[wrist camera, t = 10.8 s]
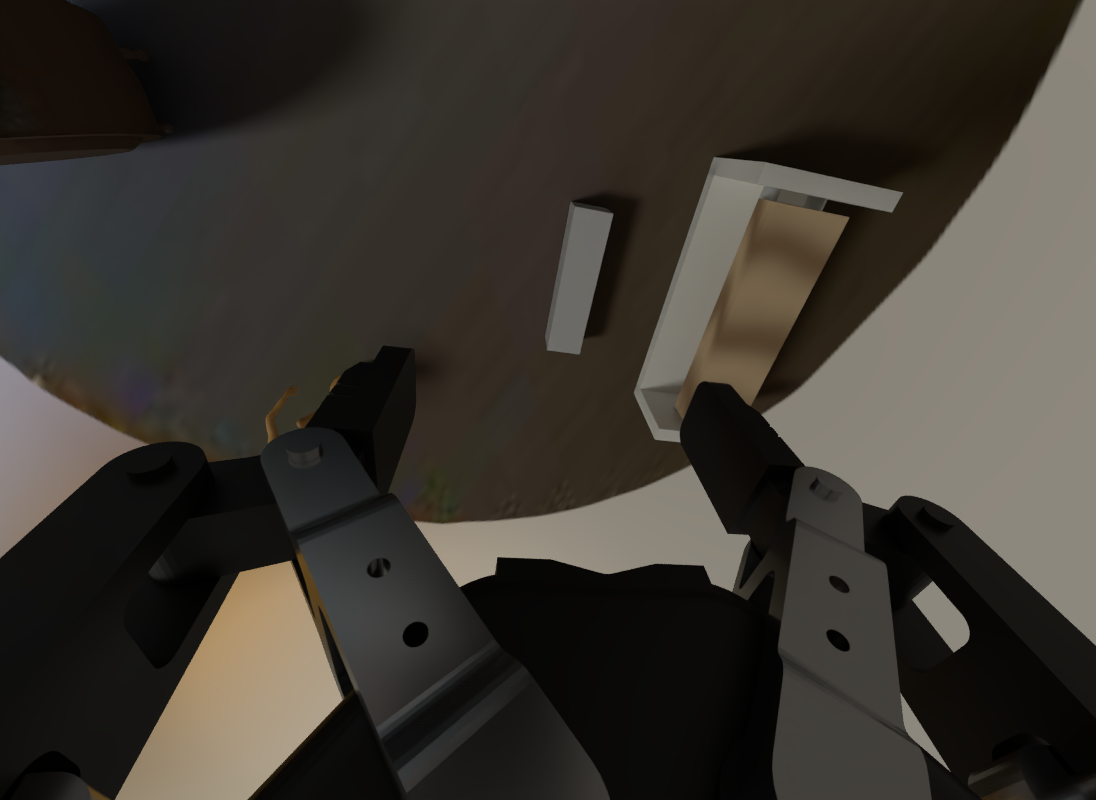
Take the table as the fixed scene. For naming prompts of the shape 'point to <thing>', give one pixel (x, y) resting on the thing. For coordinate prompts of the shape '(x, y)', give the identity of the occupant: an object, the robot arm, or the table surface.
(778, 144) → the table surface
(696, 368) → the shelf board
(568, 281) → the block
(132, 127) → the alarm clock
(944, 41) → the table surface
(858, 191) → the shelf frame
